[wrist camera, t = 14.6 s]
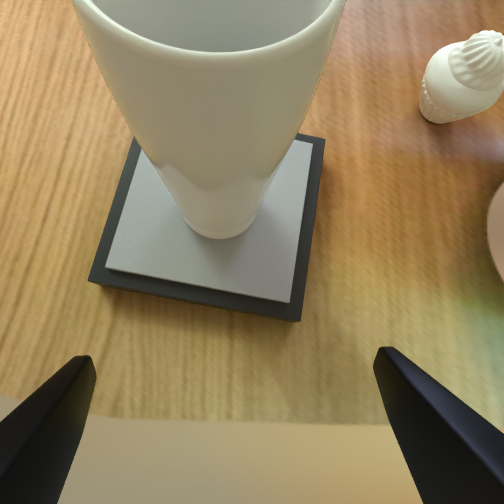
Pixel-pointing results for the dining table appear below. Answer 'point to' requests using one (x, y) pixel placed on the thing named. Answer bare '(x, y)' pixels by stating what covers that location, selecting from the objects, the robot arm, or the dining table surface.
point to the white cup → (212, 92)
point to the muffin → (463, 78)
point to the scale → (214, 241)
